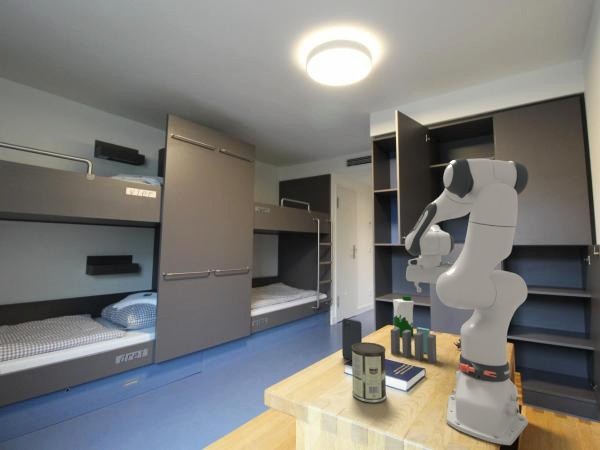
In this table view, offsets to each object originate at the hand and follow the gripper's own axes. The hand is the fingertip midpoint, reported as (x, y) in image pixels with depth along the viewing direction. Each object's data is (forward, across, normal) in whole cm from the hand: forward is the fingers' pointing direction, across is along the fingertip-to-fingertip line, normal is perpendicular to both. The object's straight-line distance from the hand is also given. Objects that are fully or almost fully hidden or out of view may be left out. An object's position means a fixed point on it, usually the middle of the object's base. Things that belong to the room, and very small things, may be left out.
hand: (430, 293), depth 128 cm
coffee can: (+25, +3, +50) cm, 56 cm away
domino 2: (+26, +7, +9) cm, 28 cm away
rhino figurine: (+26, -13, -13) cm, 32 cm away
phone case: (+26, +22, +30) cm, 45 cm away
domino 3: (+26, +3, 0) cm, 26 cm away
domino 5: (+25, -3, +9) cm, 27 cm away
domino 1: (+26, +12, +9) cm, 30 cm away
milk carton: (+27, +19, -18) cm, 38 cm away
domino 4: (+25, +2, +9) cm, 27 cm away
